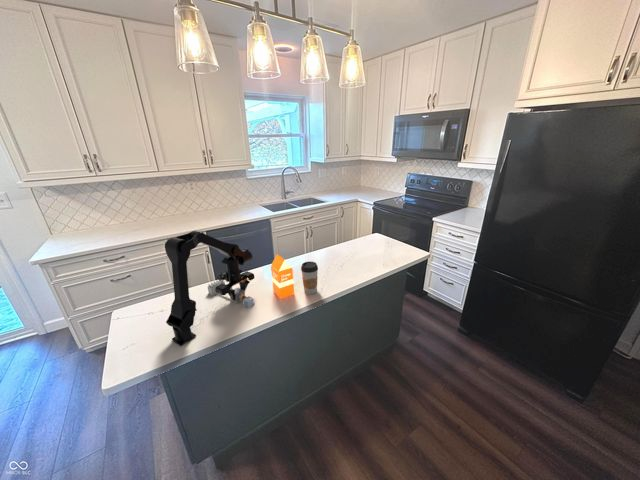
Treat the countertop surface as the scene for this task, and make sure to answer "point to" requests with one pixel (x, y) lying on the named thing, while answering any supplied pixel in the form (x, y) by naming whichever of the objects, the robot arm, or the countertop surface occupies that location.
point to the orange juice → (282, 277)
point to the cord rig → (238, 297)
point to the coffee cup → (309, 277)
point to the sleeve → (237, 293)
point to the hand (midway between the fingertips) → (238, 297)
